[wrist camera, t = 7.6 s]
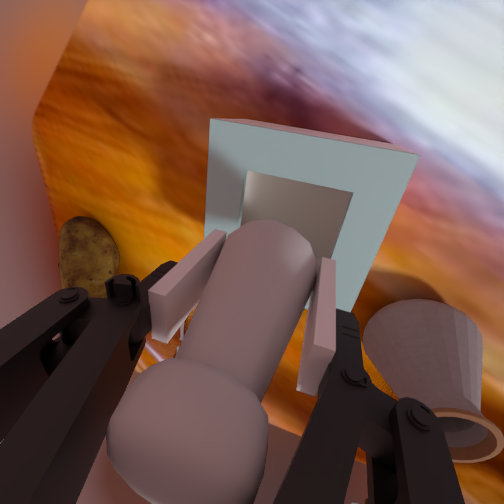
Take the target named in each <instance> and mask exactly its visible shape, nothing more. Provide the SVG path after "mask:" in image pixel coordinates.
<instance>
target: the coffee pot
mask: <svg viewBox="0 0 504 504" xmlns="http://www.w3.org/2000/svg"><path fill="white" fill-rule="evenodd" d="M362 342H363V346H364V350H365V353H366V354H367V356H368V357H369V359H370V360H371V362H372V363H373V364H374V366H375V367H376V368H377V370H378V371H379V372H380V374H381V375H382V377H383V378H384V379H385V381H386V382H387V383H388V385H389V386H390V387H391V389H392V390H393V392H394V393H395V394H396V396H397V397H398V398H399V399H400V398H404V397H409V398H414V399H416V400H418V401H420V402H422V403H424V404H425V405H426V406H427V407H428V408H430V409H431V410H432V411H433V413H434V414H435V415H436V416H437V418H438V419H439V421H440V423H441V425H442V427H443V431H444V434H445V437H446V441H447V444H448V448H449V451H450V454H451V458H452V461H453V462H458V463H475V462H481V461H485V460H488V459H491V458H493V457H495V456H496V455H498V454H499V453H500V452H501V451H502V449H503V447H504V436H503V434H502V432H501V430H500V429H499V428H498V427H497V426H496V425H495V424H494V423H493V422H492V421H490V420H489V419H487V418H485V417H484V416H483V414H482V413H481V412H480V411H481V383H482V356H483V343H482V335H481V333H480V331H479V329H478V327H477V325H476V324H475V323H474V322H473V321H472V320H471V319H470V318H469V317H468V316H467V315H466V314H465V313H463V312H461V311H459V310H457V309H455V308H453V307H452V306H450V305H447V304H445V303H441V302H438V301H434V300H428V299H408V300H401V301H398V302H395V303H391V304H388V305H387V306H385V307H383V308H381V309H380V310H378V311H377V312H376V313H375V314H374V315H373V316H372V317H371V318H370V320H369V321H368V323H367V325H366V327H365V329H364V332H363V340H362ZM350 504H359V503H357V502H351V503H350ZM365 504H368V498H367V499H366V500H365Z"/></svg>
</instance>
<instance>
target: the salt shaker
mask: <svg viewBox="0 0 504 504" xmlns="http://www.w3.org/2000/svg"><path fill="white" fill-rule="evenodd" d="M317 267H318V265H317V261H316V258H315V255H314V253H313V250H312V247H311V245H310V242H309V241H308V240H307V239H306V238H305V237H304V236H302V235H301V234H300V233H299V232H298V231H297V230H296V229H295V228H293V227H292V226H289V225H286V224H284V223H281V222H278V221H276V220H273V219H266V220H259V221H251V222H248V223H246V224H244V225H243V226H241V227H240V228H238V229H236V230H235V231H233V232H232V233H230V234H229V235H228V237H227V239H226V241H225V243H224V245H223V248H222V250H221V252H220V255H219V257H218V260H217V262H216V264H215V267H214V269H213V271H212V273H211V276H210V278H209V280H208V283H207V285H206V287H205V289H204V292H203V294H202V296H201V299H200V301H199V303H198V305H197V308H196V310H195V312H194V315H193V317H192V319H191V321H190V324H189V326H188V328H187V331H186V333H185V335H184V337H183V340H182V342H181V344H180V347H179V349H178V351H177V353H176V356H175V358H169V359H167V360H164V361H161V362H159V363H156V364H154V365H152V366H150V367H149V368H147V369H146V370H144V371H143V372H142V373H141V374H140V375H139V376H138V377H137V379H136V380H135V381H134V382H133V383H132V384H131V386H130V387H129V388H128V389H127V390H126V391H125V393H124V395H123V397H122V398H121V400H120V402H119V404H118V406H117V407H116V409H115V411H114V413H113V415H112V416H111V418H110V421H109V425H108V428H107V431H106V440H107V454H108V456H109V459H110V460H111V462H112V464H113V467H114V469H115V470H116V471H117V472H118V473H119V474H120V476H121V477H122V478H123V479H124V480H125V481H126V482H127V483H128V484H129V486H130V487H131V488H132V489H133V490H134V491H135V492H136V493H137V494H139V495H140V496H142V497H143V498H145V499H146V500H148V501H149V502H150V503H152V504H253V503H254V500H255V498H256V495H257V492H258V489H259V486H260V484H261V481H262V478H263V475H264V469H265V463H266V456H267V450H268V436H269V435H268V434H269V424H268V415H267V414H266V412H265V410H264V408H263V407H262V405H261V402H262V399H263V397H264V395H265V393H266V391H267V388H268V386H269V384H270V382H271V380H272V378H273V375H274V373H275V371H276V369H277V367H278V365H279V362H280V360H281V358H282V356H283V354H284V351H285V349H286V347H287V345H288V343H289V341H290V338H291V336H292V334H293V332H294V330H295V328H296V325H297V323H298V321H299V319H300V317H301V314H302V312H303V310H304V308H305V306H306V304H307V301H308V299H309V297H310V295H311V293H312V291H313V288H314V285H315V281H316V274H317Z"/></svg>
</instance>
